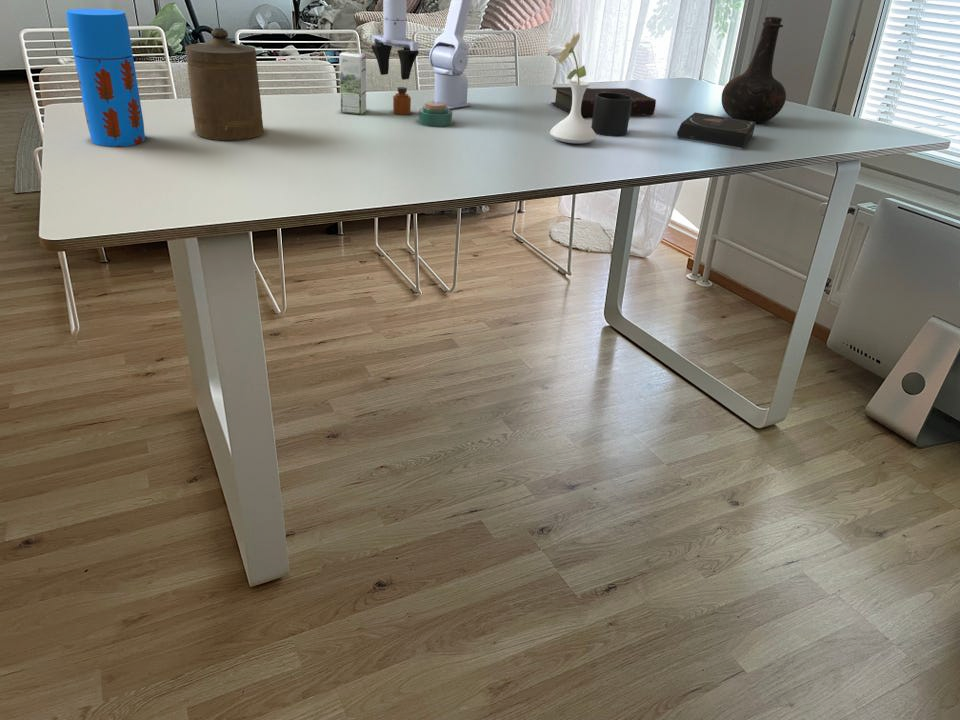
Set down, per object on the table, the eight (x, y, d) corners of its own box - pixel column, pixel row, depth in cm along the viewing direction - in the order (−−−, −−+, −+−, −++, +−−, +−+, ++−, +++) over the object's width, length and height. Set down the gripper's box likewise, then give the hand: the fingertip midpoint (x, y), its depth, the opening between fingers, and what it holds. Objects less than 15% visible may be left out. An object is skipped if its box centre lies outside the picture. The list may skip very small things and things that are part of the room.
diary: (654, 116, 215) (657, 98, 213) (578, 118, 207) (580, 99, 204) (621, 102, 230) (624, 86, 227) (549, 104, 221) (551, 86, 219)
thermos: (157, 138, 161) (137, 12, 149) (121, 149, 152) (97, 16, 140) (116, 131, 164) (94, 7, 151) (78, 141, 155) (52, 10, 143)
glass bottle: (713, 121, 215) (737, 15, 201) (720, 110, 230) (742, 11, 216) (777, 130, 210) (806, 22, 196) (780, 118, 225) (807, 18, 210)
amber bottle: (401, 110, 201) (402, 85, 198) (414, 113, 199) (414, 88, 196) (389, 112, 198) (389, 87, 195) (402, 115, 196) (402, 90, 192)
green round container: (434, 117, 196) (434, 98, 194) (458, 123, 192) (459, 104, 189) (411, 121, 190) (412, 102, 188) (436, 128, 186) (437, 108, 183)
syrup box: (366, 110, 198) (366, 52, 191) (361, 115, 193) (360, 55, 186) (345, 108, 198) (344, 50, 191) (340, 113, 193) (338, 53, 186)
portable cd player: (689, 126, 206) (692, 112, 204) (752, 137, 200) (755, 121, 198) (675, 138, 194) (678, 122, 191) (742, 149, 188) (746, 133, 185)
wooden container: (234, 121, 178) (224, 22, 167) (276, 133, 171) (269, 30, 160) (181, 131, 167) (167, 25, 156) (223, 144, 160) (212, 34, 149)
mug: (641, 133, 195) (647, 98, 191) (608, 137, 189) (614, 101, 184) (615, 125, 202) (620, 90, 197) (583, 129, 195) (588, 93, 191)
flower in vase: (568, 133, 190) (581, 27, 178) (604, 143, 184) (620, 34, 171) (535, 140, 182) (546, 29, 169) (570, 150, 175) (585, 36, 163)
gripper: (362, 16, 185) (363, 73, 192) (404, 23, 178) (404, 83, 185) (383, 15, 190) (383, 71, 197) (424, 22, 183) (423, 80, 190)
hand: (394, 76), depth 191 cm, fingers open, 7 cm apart
